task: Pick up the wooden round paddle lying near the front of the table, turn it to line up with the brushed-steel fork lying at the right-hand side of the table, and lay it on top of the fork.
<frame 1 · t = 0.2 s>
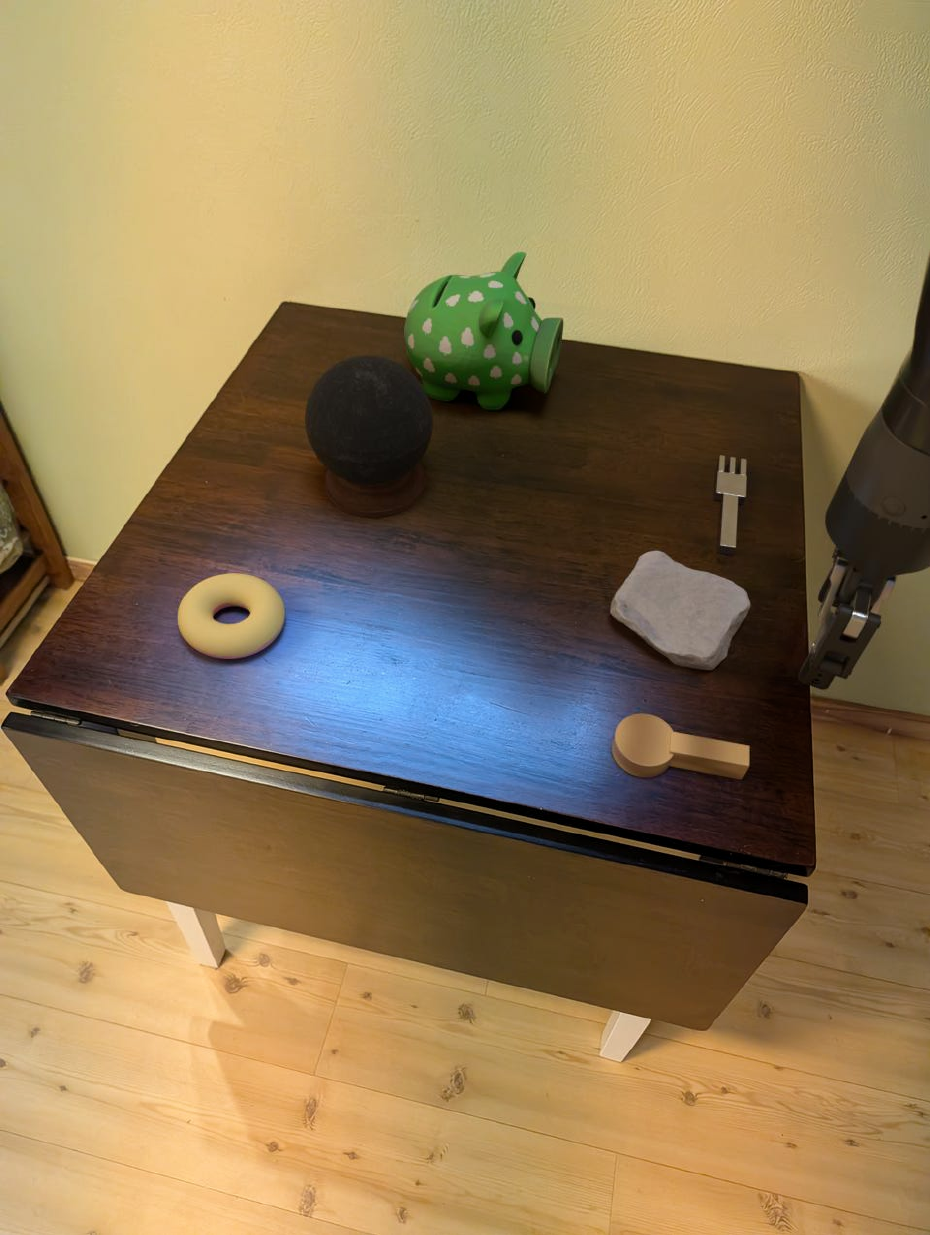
hand: (821, 640, 65), 13 cm above the table, tool pointing down, fingers open, 8 cm apart
wooden round paddle: (682, 758, 72), on the table
fork: (728, 505, 92), on the table
stone block: (671, 625, 82), on the table
black ball on stand: (375, 483, 94), on the table
donut: (235, 626, 81), on the table
piggy bank: (478, 389, 105), on the table
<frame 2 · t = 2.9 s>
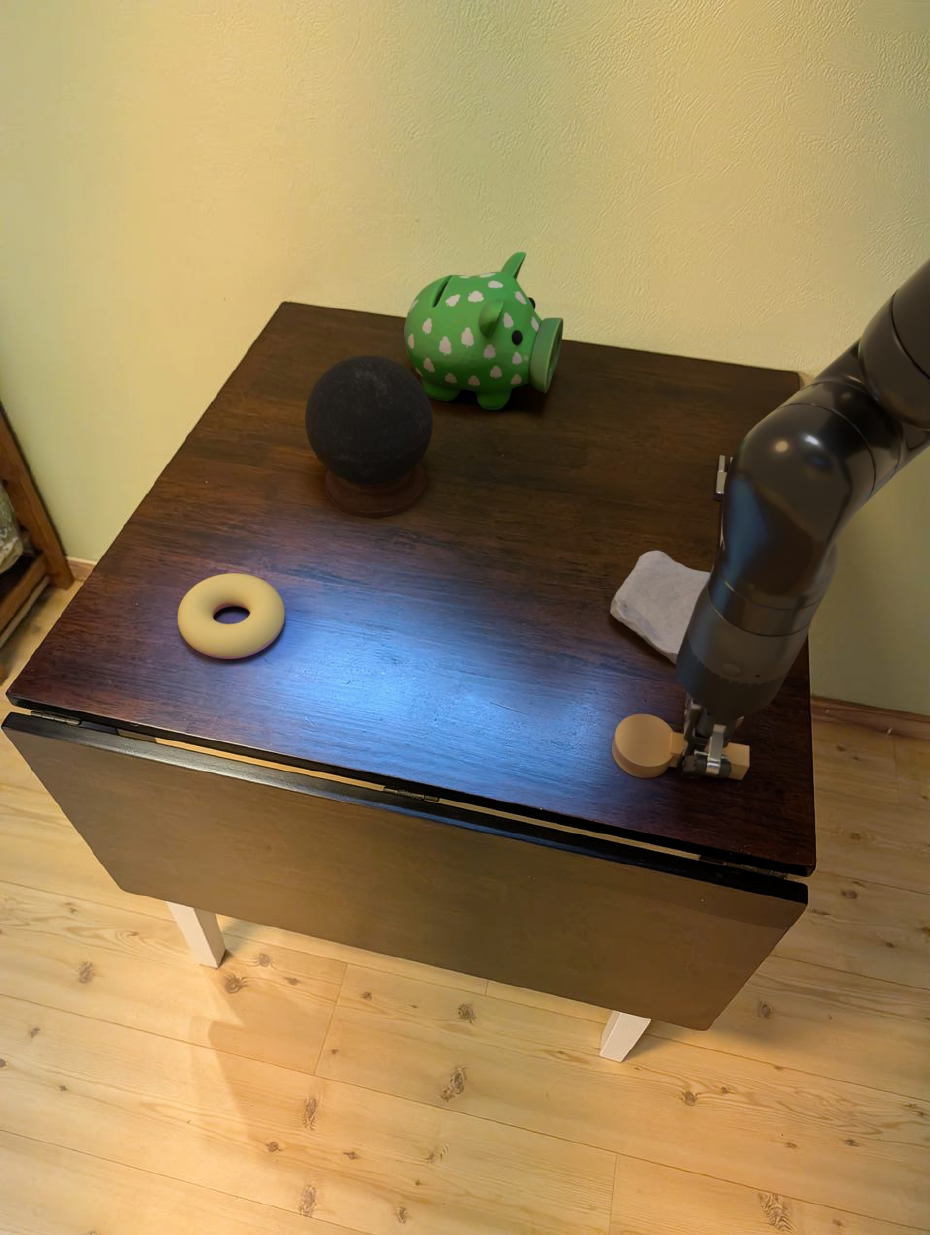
hand: (688, 759, 72), 0 cm above the table, tool pointing down, fingers closed on wooden round paddle, 2 cm apart
wooden round paddle: (682, 758, 72), on the table, touching gripper
everything else where it was.
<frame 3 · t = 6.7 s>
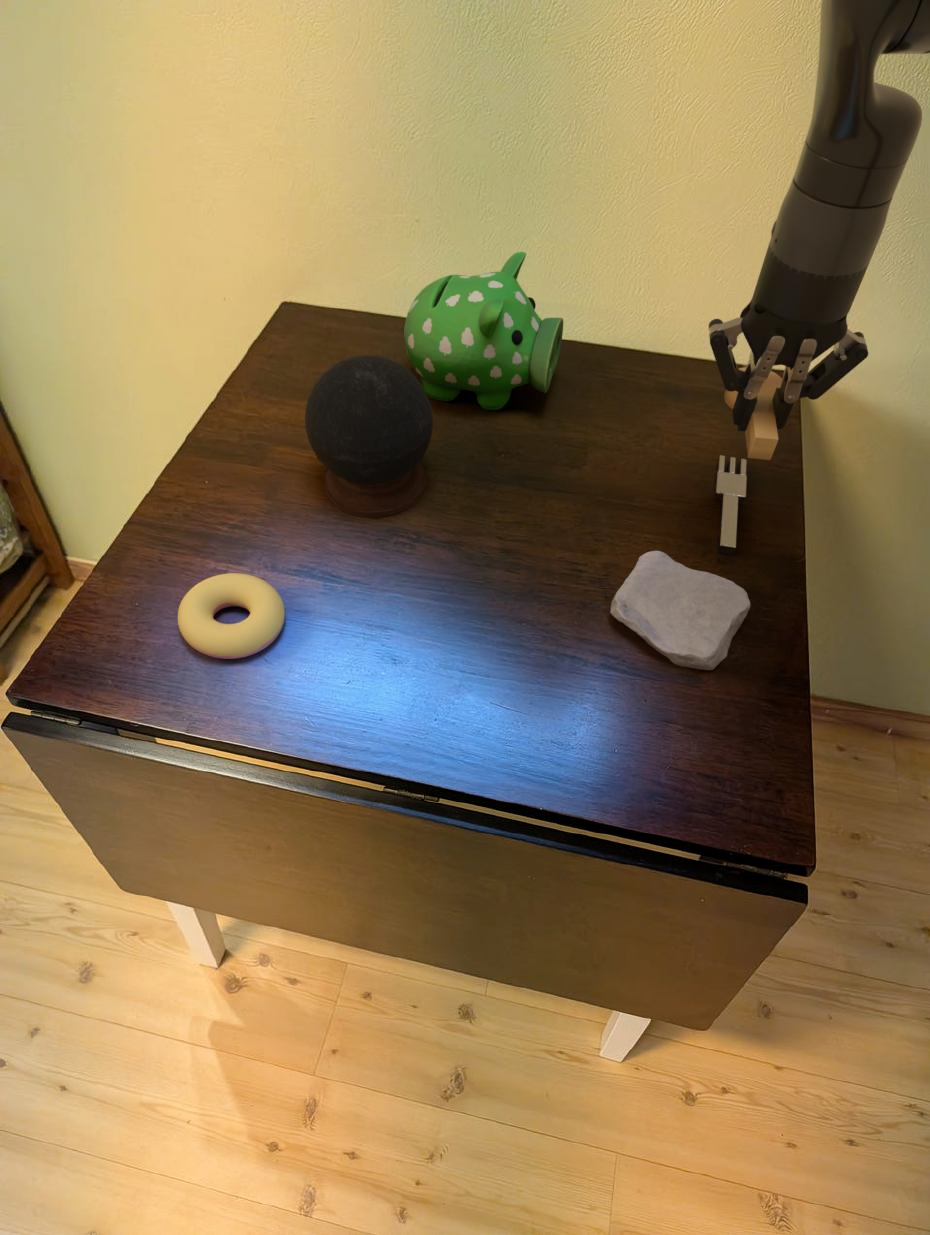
hand: (755, 426, 78), 15 cm above the table, tool pointing down, fingers closed on wooden round paddle
wooden round paddle: (754, 423, 78), point 15 cm above the table, touching gripper
everything else where it was.
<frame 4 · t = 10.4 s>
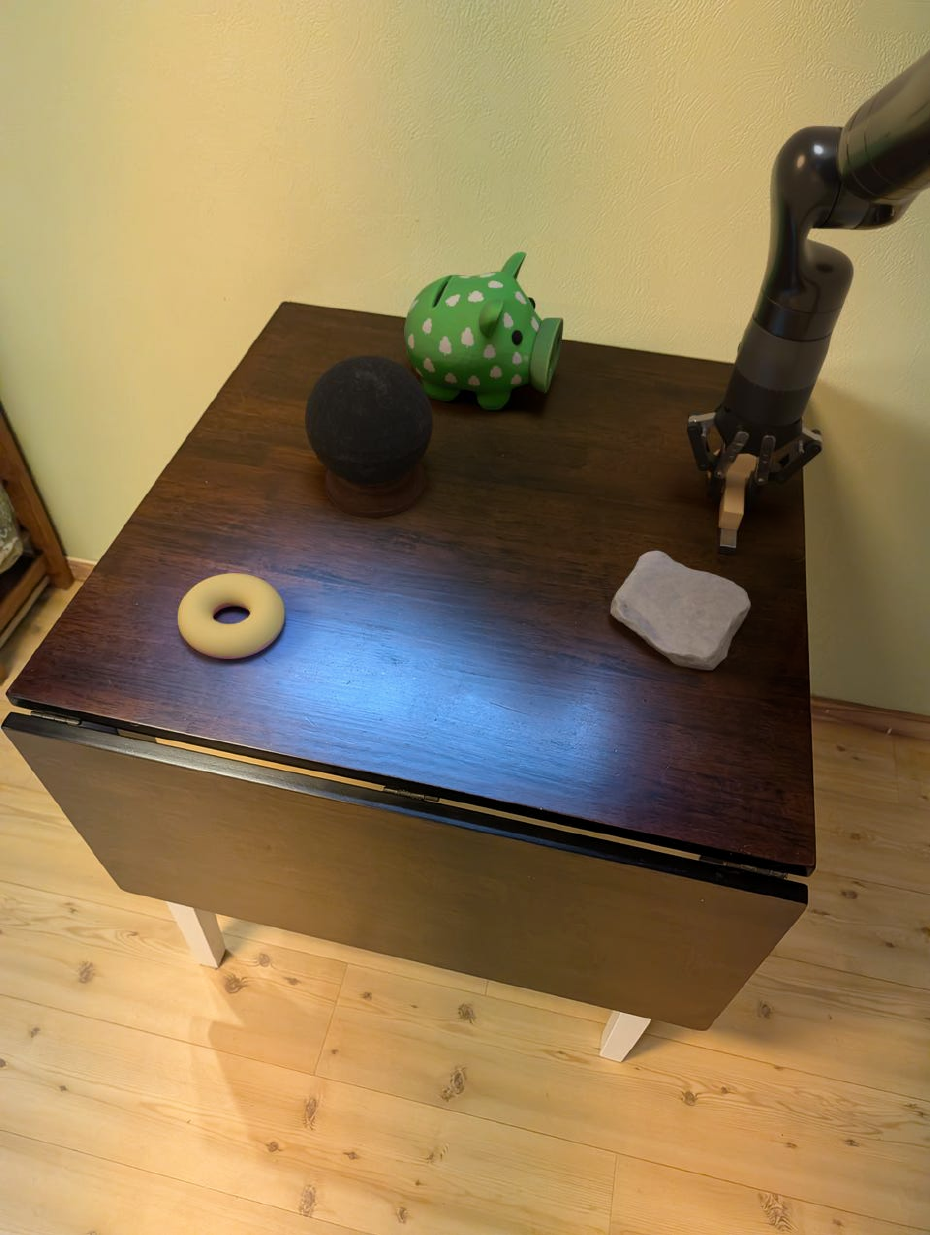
hand: (729, 500, 91), 1 cm above the table, tool pointing down, fingers closed
wooden round paddle: (729, 497, 91), point 1 cm above the table, touching fork
fork: (728, 505, 92), on the table, touching wooden round paddle
everything else where it was.
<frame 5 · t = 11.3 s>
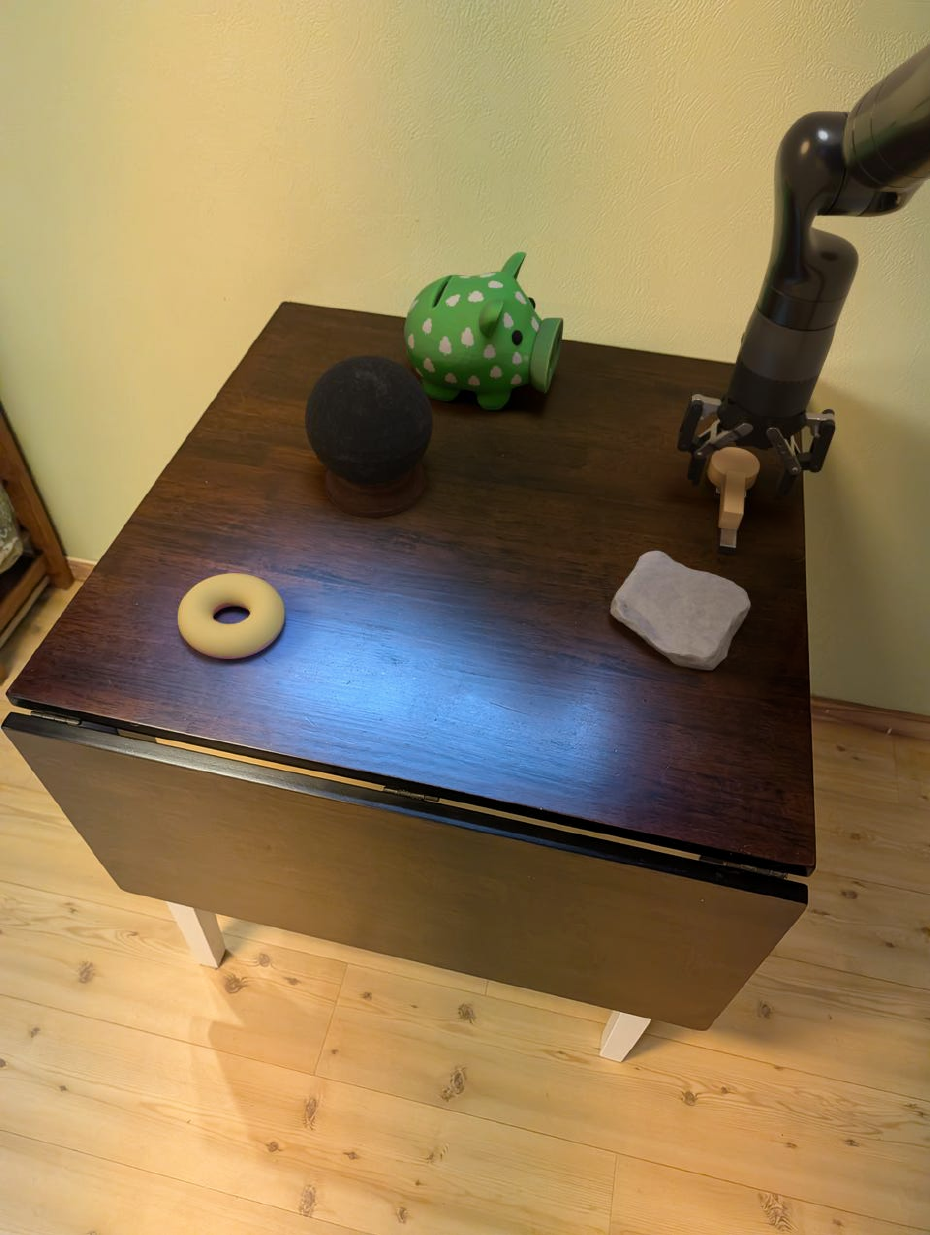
hand: (736, 487, 89), 3 cm above the table, tool pointing down, fingers open, 8 cm apart
nothing on the table moved.
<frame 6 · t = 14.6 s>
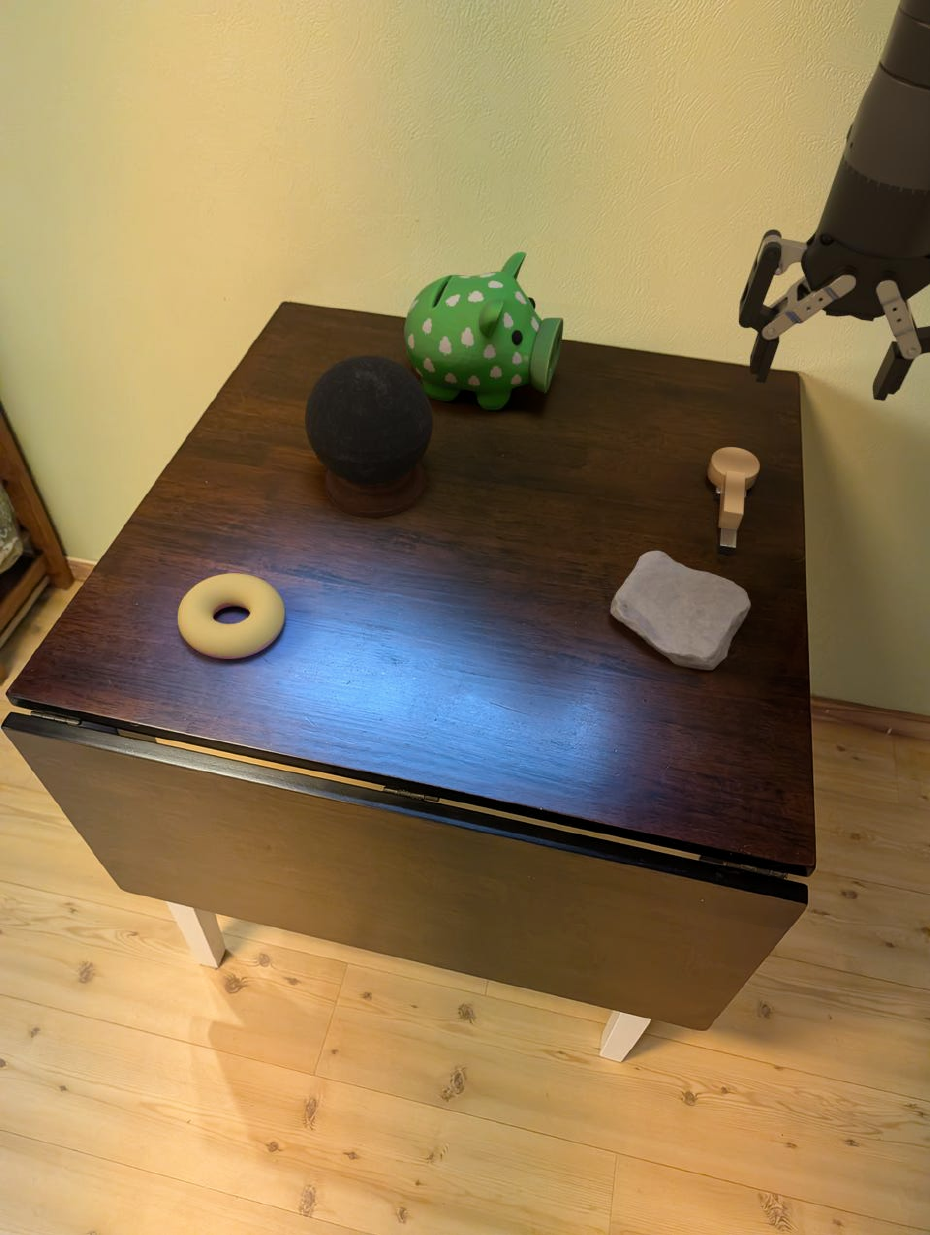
hand: (818, 385, 63), 26 cm above the table, tool pointing down, fingers open, 8 cm apart
nothing on the table moved.
at the end: wooden round paddle inside the target area on the fork (0.1 cm from its centre), point 1.2 cm above the fork's base; wooden round paddle touching fork; the gripper is holding nothing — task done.
